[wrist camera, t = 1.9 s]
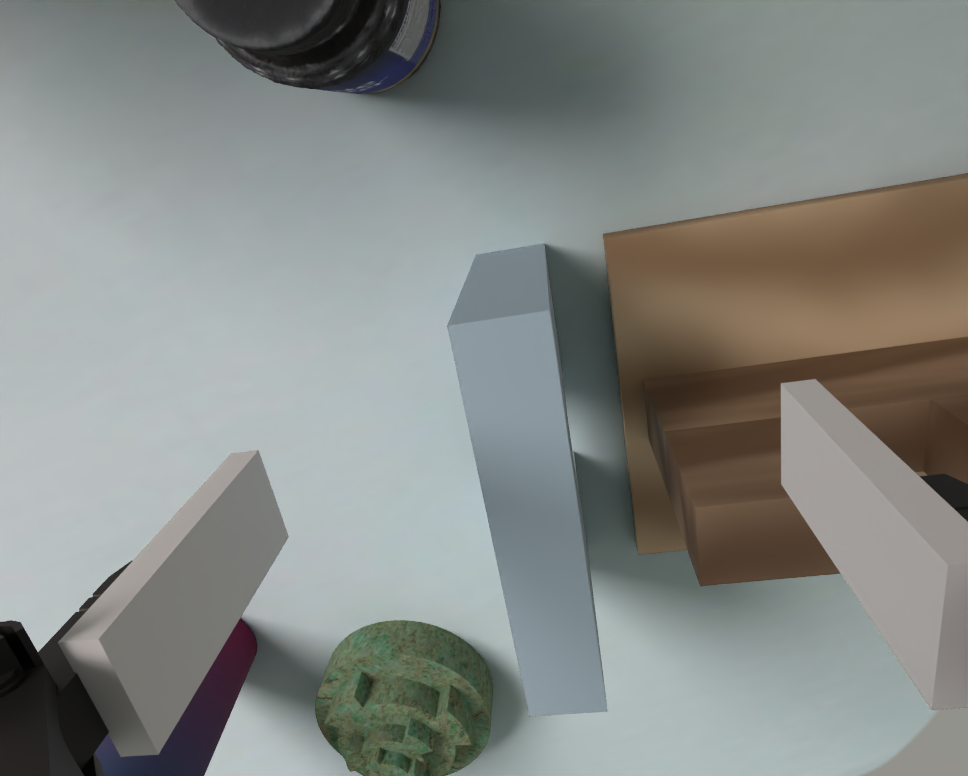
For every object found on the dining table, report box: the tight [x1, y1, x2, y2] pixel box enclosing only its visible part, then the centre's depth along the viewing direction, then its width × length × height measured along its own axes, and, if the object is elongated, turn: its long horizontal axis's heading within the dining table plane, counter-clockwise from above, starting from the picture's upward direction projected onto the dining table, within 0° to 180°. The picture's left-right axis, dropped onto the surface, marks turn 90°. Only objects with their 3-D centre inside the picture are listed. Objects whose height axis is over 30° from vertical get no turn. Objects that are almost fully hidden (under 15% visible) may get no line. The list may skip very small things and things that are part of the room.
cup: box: [95, 619, 257, 776], centre depth 31 cm, size 7×7×15 cm
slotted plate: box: [447, 244, 607, 717], centre depth 26 cm, size 16×3×10 cm, turn 10°
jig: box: [603, 174, 968, 586], centre depth 24 cm, size 16×16×11 cm
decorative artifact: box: [315, 620, 493, 776], centre depth 35 cm, size 10×7×10 cm
